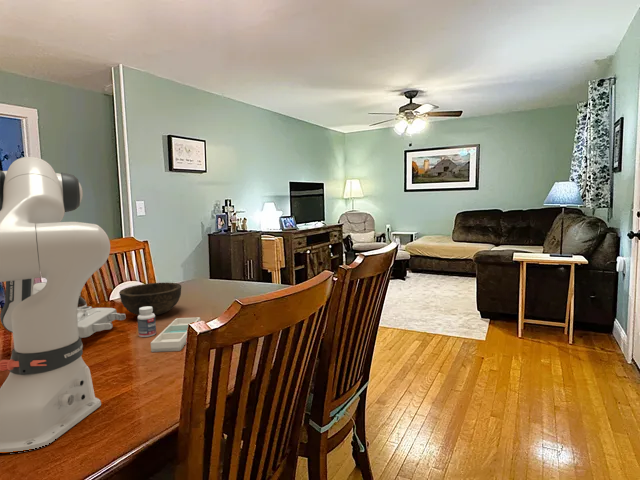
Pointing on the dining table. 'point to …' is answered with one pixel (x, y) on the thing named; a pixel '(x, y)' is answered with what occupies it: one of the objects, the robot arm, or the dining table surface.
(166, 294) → the bowl
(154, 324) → the pill bottle
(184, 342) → the white plastic tray
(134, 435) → the dining table surface
